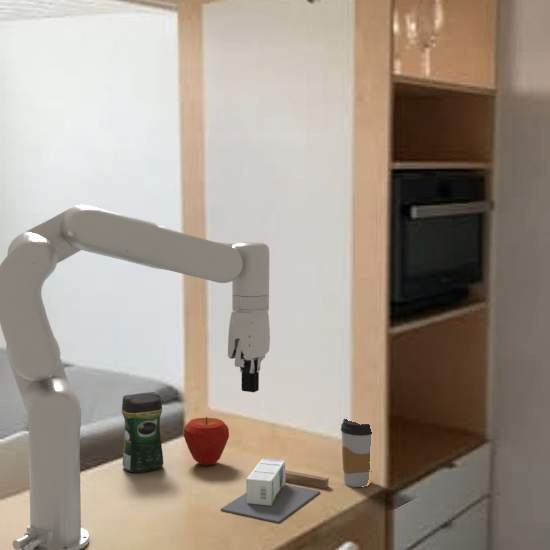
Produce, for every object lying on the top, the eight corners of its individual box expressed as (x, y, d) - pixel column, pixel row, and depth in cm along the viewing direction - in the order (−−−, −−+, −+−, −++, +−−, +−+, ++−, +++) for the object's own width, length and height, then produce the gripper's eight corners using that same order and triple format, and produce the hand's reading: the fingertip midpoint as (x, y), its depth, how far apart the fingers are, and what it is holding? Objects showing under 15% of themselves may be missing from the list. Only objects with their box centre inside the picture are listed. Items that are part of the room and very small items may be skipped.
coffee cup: (382, 485, 204) (384, 422, 202) (353, 492, 200) (355, 427, 198) (361, 475, 211) (362, 414, 210) (332, 481, 207) (333, 418, 205)
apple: (174, 464, 218) (174, 416, 216) (206, 454, 226) (206, 408, 224) (206, 474, 210) (206, 425, 209) (237, 463, 218) (237, 416, 217)
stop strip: (325, 488, 202) (325, 480, 202) (271, 478, 208) (271, 470, 208) (328, 486, 203) (328, 478, 203) (274, 476, 210) (275, 468, 209)
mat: (278, 523, 182) (278, 521, 182) (220, 510, 188) (220, 508, 188) (319, 492, 199) (320, 491, 199) (265, 482, 206) (265, 480, 206)
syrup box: (271, 480, 189) (287, 459, 203) (245, 478, 190) (262, 457, 204) (271, 506, 190) (286, 483, 204) (245, 503, 191) (262, 481, 205)
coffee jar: (155, 460, 221) (155, 387, 218) (167, 469, 214) (166, 395, 211) (118, 465, 216) (117, 392, 214) (128, 475, 209) (127, 399, 207)
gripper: (252, 297, 188) (252, 381, 190) (215, 306, 175) (215, 396, 177) (283, 299, 184) (282, 385, 187) (248, 309, 171) (247, 401, 173)
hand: (250, 390), depth 182 cm, fingers closed
